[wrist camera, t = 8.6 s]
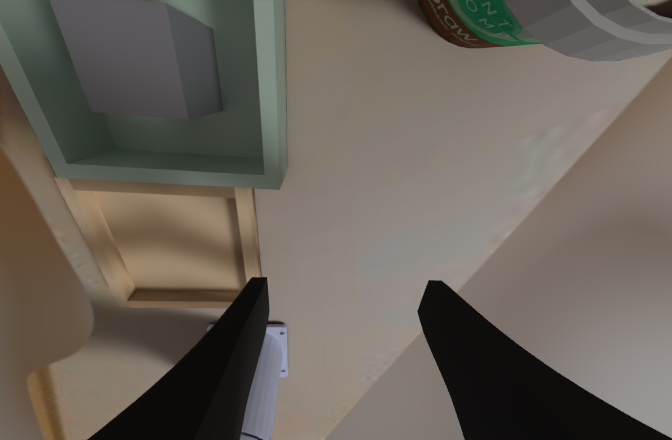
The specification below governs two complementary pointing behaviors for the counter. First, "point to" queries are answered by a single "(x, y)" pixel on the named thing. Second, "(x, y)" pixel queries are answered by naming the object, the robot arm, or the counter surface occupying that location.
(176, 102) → the stone block
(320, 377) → the counter surface
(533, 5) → the food container
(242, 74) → the green bin
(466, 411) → the robot arm
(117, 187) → the oak tray
